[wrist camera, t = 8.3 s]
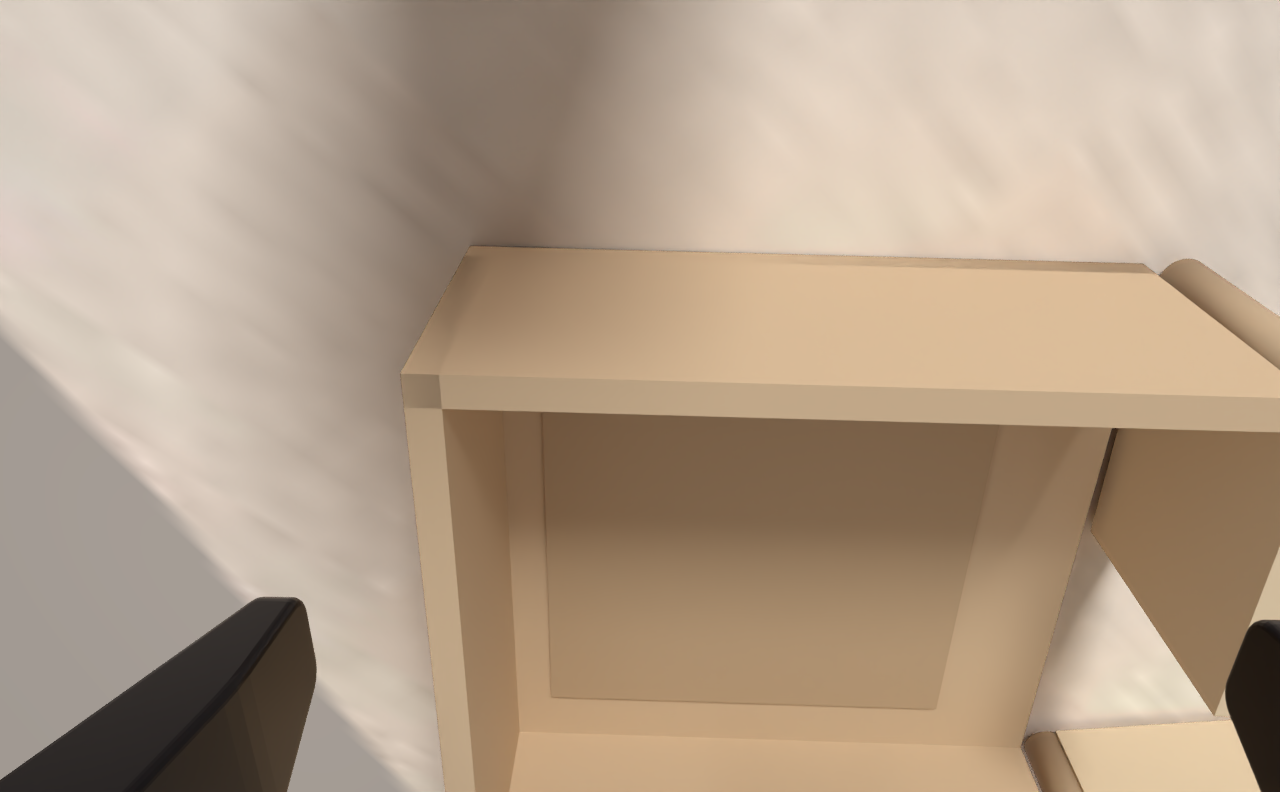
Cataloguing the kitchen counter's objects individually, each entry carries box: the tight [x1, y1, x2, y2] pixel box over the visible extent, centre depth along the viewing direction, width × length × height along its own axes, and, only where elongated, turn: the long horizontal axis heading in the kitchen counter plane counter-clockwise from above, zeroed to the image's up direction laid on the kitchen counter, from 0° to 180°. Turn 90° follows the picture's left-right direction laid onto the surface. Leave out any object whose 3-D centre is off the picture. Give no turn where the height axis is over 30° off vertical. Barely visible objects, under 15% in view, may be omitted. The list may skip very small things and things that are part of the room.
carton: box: [400, 246, 1280, 792], centre depth 21 cm, size 14×14×6 cm
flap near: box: [1091, 259, 1280, 717], centre depth 19 cm, size 1×7×6 cm, turn 0°
